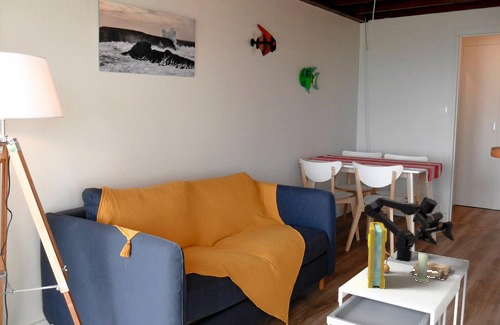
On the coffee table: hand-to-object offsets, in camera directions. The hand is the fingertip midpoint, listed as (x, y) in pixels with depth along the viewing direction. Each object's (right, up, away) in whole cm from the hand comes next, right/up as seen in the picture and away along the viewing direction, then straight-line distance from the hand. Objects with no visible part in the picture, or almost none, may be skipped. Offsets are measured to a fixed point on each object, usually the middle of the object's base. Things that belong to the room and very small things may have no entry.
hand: (445, 242), depth 218 cm
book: (-36, -16, -12) cm, 41 cm away
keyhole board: (-6, -15, +3) cm, 16 cm away
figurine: (-28, -15, 0) cm, 32 cm away
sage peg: (-14, -15, -9) cm, 23 cm away
